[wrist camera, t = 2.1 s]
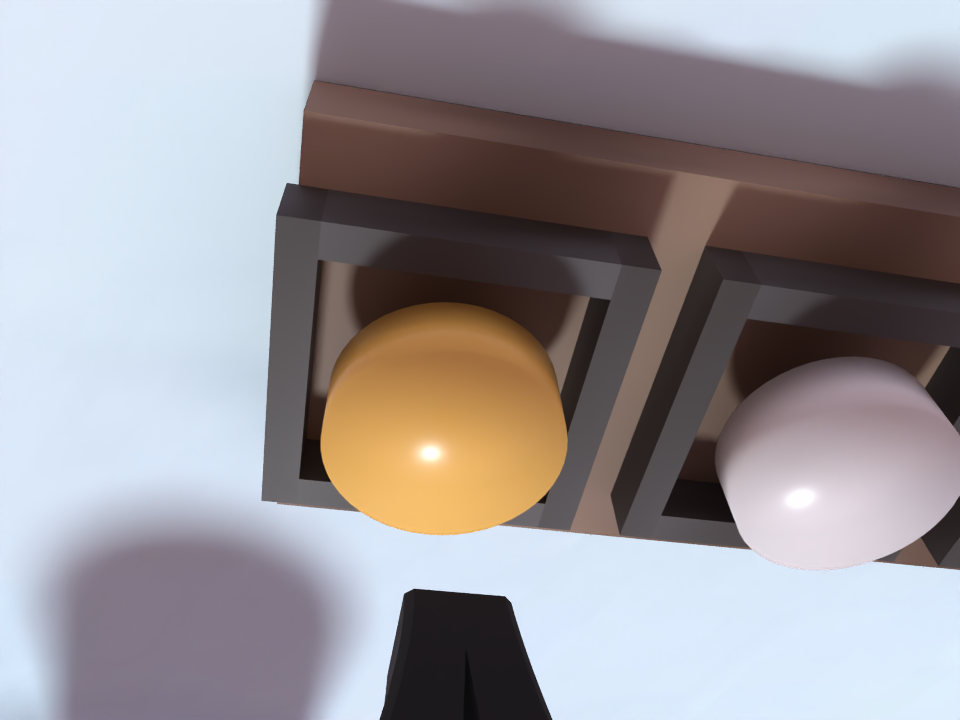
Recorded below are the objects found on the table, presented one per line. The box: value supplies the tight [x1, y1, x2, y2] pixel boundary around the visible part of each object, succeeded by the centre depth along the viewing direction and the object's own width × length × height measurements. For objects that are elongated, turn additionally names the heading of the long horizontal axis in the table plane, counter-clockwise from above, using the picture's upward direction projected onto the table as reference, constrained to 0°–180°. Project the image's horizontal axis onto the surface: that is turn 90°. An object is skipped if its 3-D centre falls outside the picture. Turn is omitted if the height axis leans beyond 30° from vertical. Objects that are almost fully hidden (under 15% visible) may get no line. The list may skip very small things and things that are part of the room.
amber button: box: [321, 302, 568, 535], centre depth 15 cm, size 4×4×1 cm
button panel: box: [262, 81, 960, 570], centre depth 18 cm, size 21×9×3 cm, turn 80°
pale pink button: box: [715, 356, 960, 570], centre depth 16 cm, size 4×4×1 cm
